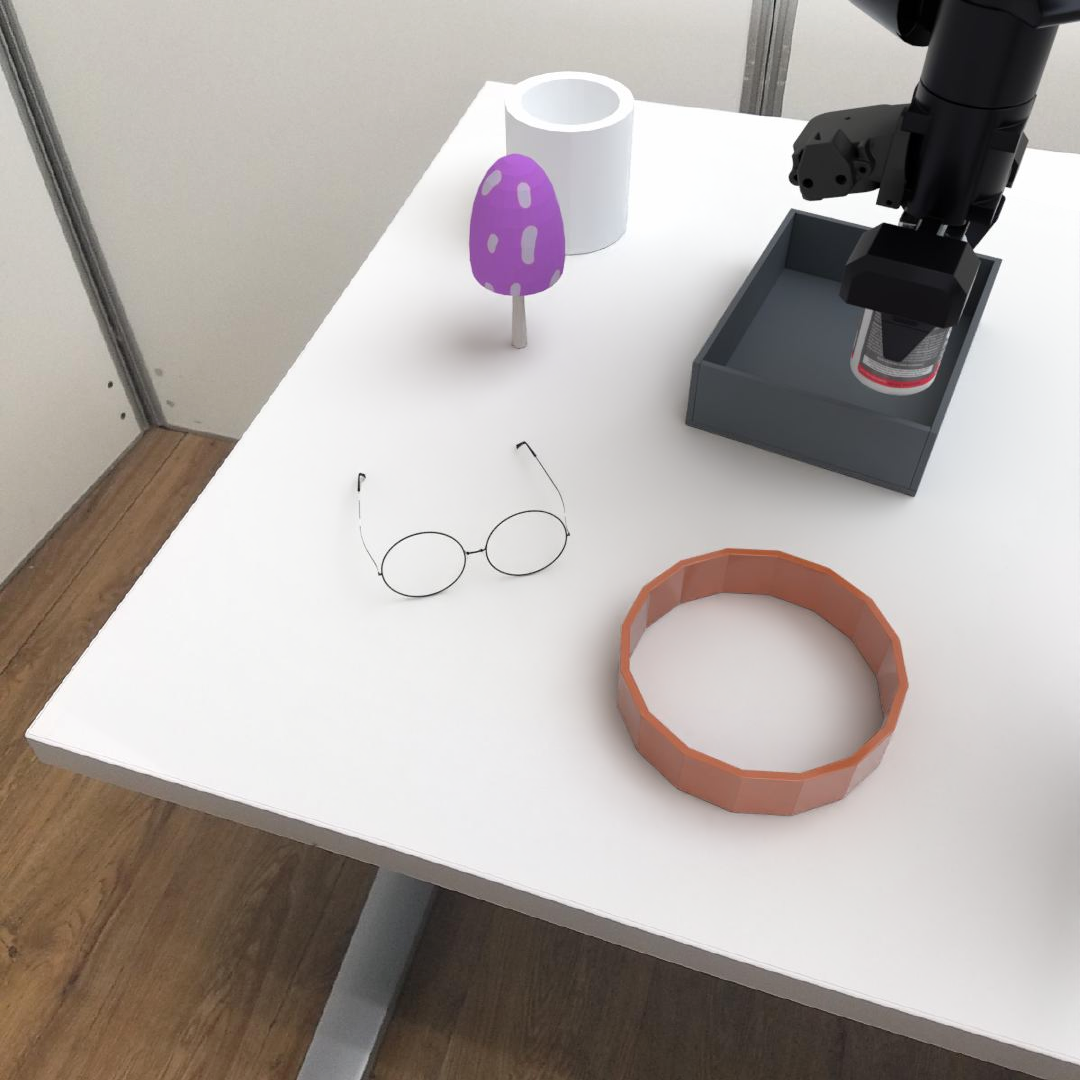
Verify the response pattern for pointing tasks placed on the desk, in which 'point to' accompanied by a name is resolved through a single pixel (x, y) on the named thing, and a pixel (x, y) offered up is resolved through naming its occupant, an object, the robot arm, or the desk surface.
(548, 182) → the toy
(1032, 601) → the desk surface
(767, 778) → the ring
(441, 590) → the eyeglasses
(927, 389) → the bin
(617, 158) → the mug
